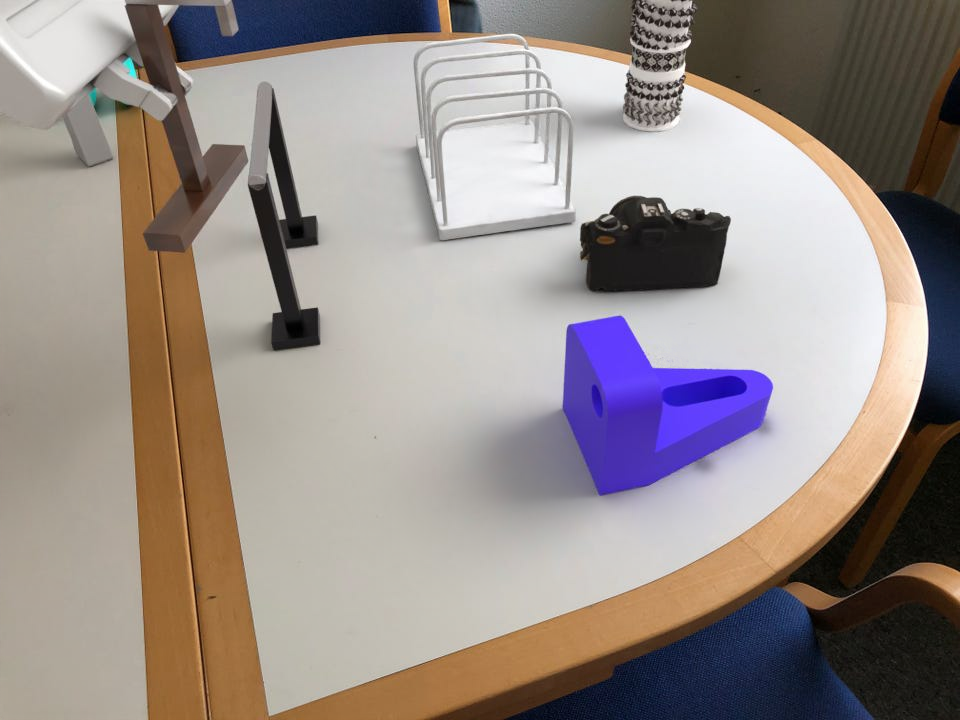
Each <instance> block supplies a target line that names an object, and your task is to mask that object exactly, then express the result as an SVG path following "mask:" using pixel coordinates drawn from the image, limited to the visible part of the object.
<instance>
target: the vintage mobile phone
mask: <svg viewBox="0 0 960 720" xmlns="http://www.w3.org/2000/svg"><path fill="white" fill-rule="evenodd" d="M61 119H62V120H63V122H64V124H65V128H66V130H67V132H68V134H69V137H70V139H71V143H72V146H73V150H74V151H75V154H76V155H77V156H78V157H79V158H80V159H81V161H83V162H84V164H86V165H87V167H89V168H91V167H94V166H97V165H100V164H103V163H105V162H108V161H111V160H113V159H114V156H113V153H112V150H111V148H110V144H109V143H108V140H107V137H106V135H105V132H104V129H103V128H102V125H101V123H100V119H99V117H98V115H97V111H96V109H95V105H94V106H93V104H92V101H91V99H90V96H89V94H88V95H87V96H86V97H85V98H84V99H82V100H81V101H80V102H79V103H78V104H77V105H76V106H75V107H73V108H72V109H71V110H70V111H69V112H68V113H67V114H66V115H65V116H63V117H62V118H61Z"/></svg>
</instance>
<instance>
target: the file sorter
mask: <svg viewBox="0 0 960 720" xmlns="http://www.w3.org/2000/svg"><path fill="white" fill-rule="evenodd" d="M505 40H515V41H518V42H520V43H521V44H522V45H523V47H524V48H519V49H508V50H507V49H506V50H505V49H504V50H497V51H485V52H476V53H474V52H473V53H466V54H465V53H464V54H455V55H454V54H453V55H445V56H439V57H438V56H437V57H435V58H432V59H430V60H429V61H427V62H426V64H425V65H424V67H423V68H422V70H421V73H420V76H419V66H418V64H419V59H420V57H421V55H422V54H423V53H424V52H425V51H427V50H430V49H435V48H441V47H442V48H443V47H453V46H459V45H461V46H462V45H470V44H477V43H487V42H496V41H505ZM521 55H523V56H524V55H525V57H524V59H525V67H524V68H513V69H501V70H500V69H499V70H490V71H488V70H487V71H476V72H467V73H466V72H465V73H457V74H455V73H454V74H445V75H442V76H439V77H437V78H435V80H433V81H432V82H431V83H430V85H429V86H428V88H426V76H427V74H428V71H429V70H430V69H431V68H432V67H433V66H435V65H437V64H440V63H448V62H450V63H451V62H459V61H467V60H468V61H469V60H476V59H478V60H479V59H488V58H497V57H509V56H510V57H511V56H521ZM530 58H532V59H533V61H534V62H535V66H536V67H531V66H530V65H531V64H530ZM541 65H542V64H541V61H540V59H539V57H538V56H537V54H535V52H533V51H532V50H530V47H529V44H528V42H527V41H526V39H525V38H524V37H522V36H521V35H519V34H516V33H505V34H504V33H503V34H496V35H486V36H476V37H469V38H468V37H467V38H458V39H450V40H443V41H441V40H440V41H433V42H428V43H425V44H423V45H421V47H419V48H418V49H417V51H416V52H415V54H414V57H413V73H414V83H415V85H414V86H415V94H416V103H417V114H418V121H419V134H416V135H415V142H416V143H415V144H416V148H417V152H418V156H419V159H420V160H419V161H420V164H421V167H422V171H423V176H424V179H425V185H426V188H427V192H428V195H429V196H428V197H429V200H430V204H431V209H432V213H433V218H434V221H435V225H436V229H437V233H438V234H437V235H438V238H439V240H440V241H446V240H454V239H455V240H456V239H461V238H462V239H463V238H467V237H476V236H480V235H489V234H490V235H491V234H496V233H503V232H509V231H510V232H512V231H517V230H524V229H531V228H540V227H545V226H547V227H548V226H554V225H561V224H569V223H574V222H576V221H577V219H576V217H577V216H576V215H577V214H576V213H577V210H576V208H575V206H574V204H573V202H572V200H571V189H572V171H573V170H572V169H573V152H574V121H573V118H572V117H571V115H570V114H569V112H567V111H566V110H565V109H564V108H563V101H562V99H561V96H560V94H559V93H557V92H556V91H555V90H554V89H553V84H552V81H551V80H552V79H551V78H550V77H549V75H548V74H547V72H546V71H544V70H543V69H542V68H541V67H542V66H541ZM530 74H533V75H534V74H535V76H536V82H535V83H536V84H535V87H531V88H530ZM517 75H518V76H519V75H525V88H520V89H519V88H518V89H510V90H509V89H507V90H500V91H499V90H497V91H488V92H487V91H486V92H477V93H466V94H456V95H449V96H446V97H444V98H442V99H441V100H440V101H439V102H437V104H436V105H434V107H433V110H432V95H433V92H434V90H435V88H436V87H438V85H440V84H443V83H445V82H452V81H462V80H463V81H464V80H472V79H482V78H483V79H485V78H494V77H495V78H496V77H509V76H517ZM419 77H420V78H419ZM541 78H544V80H545V82H546V87H541V85H542V84H541V83H542V82H541V81H542V79H541ZM426 89H427V91H426ZM541 94H546V107H541ZM530 95H535V103H534V104H535V106H534V107H535V108H532V109H530ZM517 96H525V109H523V110H514V111H506V112H497V113H489V114H480V115H479V114H478V115H472V116H471V115H470V116H463V117H458V118H454V119H451V120H449V121H447V122H446V123H445V124H443V126H442V127H441V128H440V129H439V131H438V130H437V115H438V113H439V111H440V110H441V108H443V107H444V106H445V105H447V104H449V103H453V102H465V101H475V100H485V99H496V98H506V97H507V98H508V97H517ZM553 98H554V99H555V100H556V103H557V106H552V102H553V101H552V99H553ZM552 114H557V119H556V120H557V121H556V141H555V142H556V143H555V158H554V162H553V160H552V157H551V156H550V154H549V152H550V134H551V120H552V119H551V116H552ZM540 115H545V130H544V131H545V132H544V133H545V134H544V142H543V140H542V138H541V135H540ZM530 116H534V121H532V120H530ZM520 117H525V118H524V119H525V120H522V121H515V122H507V123H497V124H490V125H481V126H473V127H466V128H465V127H464V128H458V129H452V128H453V127H455V126H458V125H463V124H472V123H480V122H486V121H487V122H488V121H496V120H504V119H505V120H506V119H511V118H512V119H513V118H520ZM563 117H564V118H565V119H566V121H567V125H568V129H567V131H568V133H567V157H566V158H567V159H566V173H565V174H566V175H565V176H566V177H565V178H566V179H565V185H564V183H563V181H562V179H561V177H560V164H561V163H560V162H561V148H562V147H561V145H562V132H563V131H562V129H563Z"/></svg>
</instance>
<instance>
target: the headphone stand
mask: <svg viewBox="0 0 960 720" xmlns="http://www.w3.org/2000/svg"><path fill="white" fill-rule="evenodd" d="M125 3H126V5H125V9H126V12H127V15H128V18H129V21H130V25H131V28H132V31H133V34H134V37H135V40H136V43H137V46H138V49H139V52H140V55H141V59H142V62H143V65H144V67H143V68H144V71H145V74H146V77H147V80H148V84H150V85H152V86H155V85H156V84H157V83H160V84H161V85H163V86H164V87H165V88H166V89H167V90H168V91H169V92H171V93H173V94H174V95H175V96H176V97H177V99H178V101H177V104H176V105H175V106H174V108H173V109H172V110H171V112H170V113H169V114H168V115H167V116H166V117H165V119H164V120H162V121H161V123H162V127H163V128H164V132H165V135H166V139H167V142H168V145H169V148H170V151H171V155H172V158H173V160H174V163H175V167H176V170H177V173H178V176H179V179H180V182H181V184H180V185H179V186H178V187H177V189H176V190H175V191H174V192H173V194H172V195H171V197H170V198H169V199H168V200H167V201H166V202H165V204H164V205H163V207H161V209H160V210H159V212H158V213H157V214H156V215H155V217H154V218H153V219H152V221H151V222H150V223H149V224H148V226H147V227H146V228H145V229H144V231H143V232H142V236H143V239H144V242H145V244H146V247H147V250H148V251H149V252H151V251H152V252H163V253H181V254H182V253H183V254H185V253H186V252H187V251H188V249H189V248H190V247H191V245H192V244H193V242H194V241H195V239H196V238H197V236H198V235H199V233H200V232H201V231H202V230H203V228H204V227H205V225H206V224H207V222H208V221H209V219H210V218H211V217H212V215H213V214H214V213H215V211H216V209H217V208H218V206H219V205H220V203H221V202H222V201H223V199H224V198H225V196H226V194H227V193H228V192H229V190H230V189H231V187H232V186H233V184H234V183H235V182H236V180H237V179H238V177H239V176H240V175H241V173H242V172H243V170H244V169H245V167H246V166H247V164H248V163H249V157H248V153H247V149H246V146H245V145H243V144H224V143H223V144H222V143H213V144H211V145H210V147H209V148H207V151H205V153H204V154H203V152H202V149H201V146H200V142H199V139H198V135H197V132H196V128H195V126H194V122H193V119H192V116H191V113H190V108H189V105H188V102H187V98H186V96H185V95H184V91H183V88H182V85H181V81H180V78H179V74H178V71H177V68H176V66H177V63H176V61H175V58H174V55H173V51H172V48H171V44H170V41H169V37H168V34H167V31H166V27H165V26H164V24H163V20H162V17H161V13H160V10H159V7H158V5H179V6H195V7H196V6H199V7H200V6H201V7H205V6H206V7H214V9H215V13H216V17H217V22H218V25H219V30H220V33H221V36H222V37H234V35H235V34H237V32H239V25H238V20H237V16H236V12H235V8H234V3H233V0H125ZM175 63H176V64H175Z"/></svg>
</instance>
